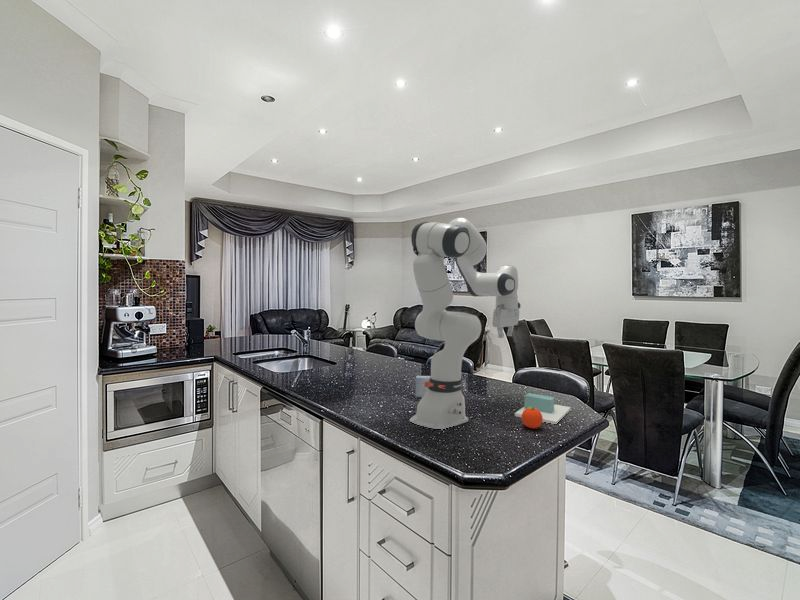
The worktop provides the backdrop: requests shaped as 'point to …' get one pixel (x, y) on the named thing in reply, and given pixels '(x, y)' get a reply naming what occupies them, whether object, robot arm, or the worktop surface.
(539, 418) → the clementine
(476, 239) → the robot arm
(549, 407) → the teal block
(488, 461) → the worktop surface
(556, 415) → the white cutting board
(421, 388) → the medicine box
